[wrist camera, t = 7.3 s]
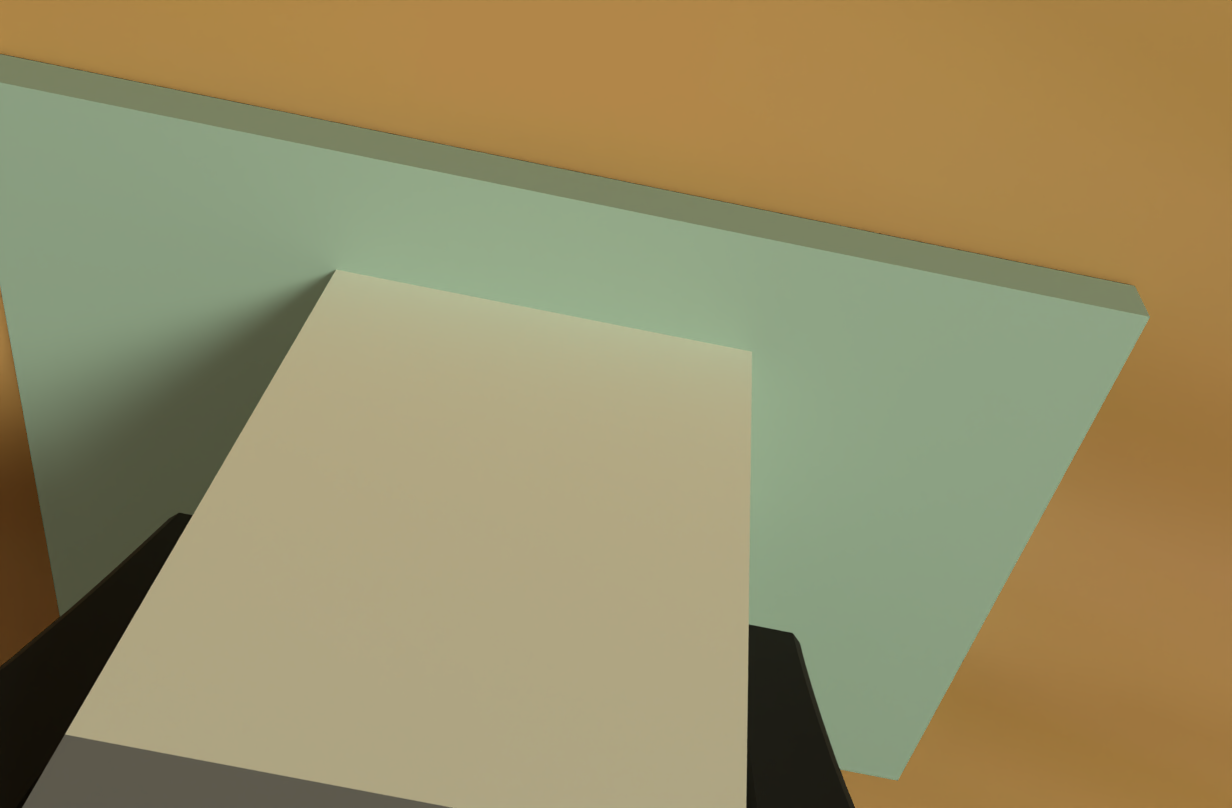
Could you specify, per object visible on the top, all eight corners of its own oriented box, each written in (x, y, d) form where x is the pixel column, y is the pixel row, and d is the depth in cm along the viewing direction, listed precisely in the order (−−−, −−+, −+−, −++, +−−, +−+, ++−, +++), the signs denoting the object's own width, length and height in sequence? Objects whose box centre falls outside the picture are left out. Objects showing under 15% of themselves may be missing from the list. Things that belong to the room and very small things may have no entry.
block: (751, 351, 12) (744, 1018, 7) (649, 703, 16) (589, 1327, 10) (335, 269, 12) (-17, 877, 7) (326, 641, 16) (91, 1238, 10)
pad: (1133, 286, 12) (1150, 316, 12) (893, 744, 17) (897, 780, 17) (-6, 52, 12) (-39, 74, 11) (80, 587, 17) (60, 618, 16)
